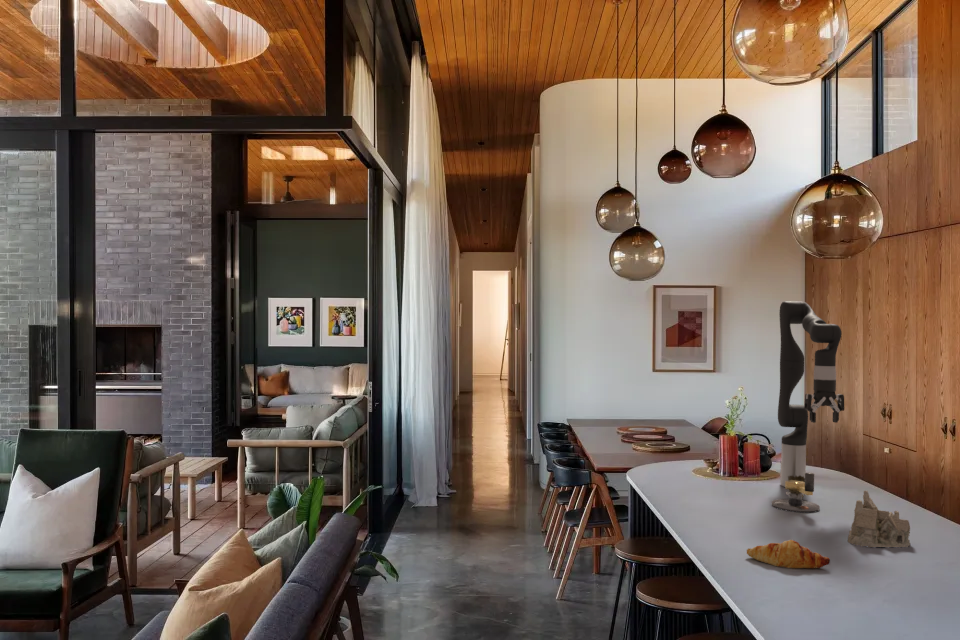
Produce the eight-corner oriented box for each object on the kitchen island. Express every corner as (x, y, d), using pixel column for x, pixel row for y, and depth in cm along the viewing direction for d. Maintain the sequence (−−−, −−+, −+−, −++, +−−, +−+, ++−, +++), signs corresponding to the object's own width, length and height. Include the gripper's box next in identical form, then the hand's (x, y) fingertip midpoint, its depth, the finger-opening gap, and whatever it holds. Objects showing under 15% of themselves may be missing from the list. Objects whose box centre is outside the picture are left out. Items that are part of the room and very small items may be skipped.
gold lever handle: (781, 487, 276) (782, 466, 276) (800, 487, 277) (800, 466, 277) (801, 496, 261) (801, 474, 261) (821, 496, 262) (821, 474, 262)
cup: (813, 499, 286) (813, 478, 286) (798, 500, 283) (798, 479, 283) (798, 495, 293) (798, 474, 293) (783, 496, 290) (783, 475, 290)
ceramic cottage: (840, 541, 229) (845, 492, 229) (861, 533, 240) (866, 486, 240) (895, 556, 218) (900, 505, 218) (915, 548, 229) (920, 499, 229)
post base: (763, 502, 280) (763, 485, 280) (804, 501, 282) (804, 485, 282) (785, 512, 264) (786, 495, 264) (828, 512, 266) (829, 495, 266)
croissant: (745, 573, 209) (743, 551, 206) (748, 547, 217) (747, 526, 214) (830, 584, 200) (829, 561, 197) (830, 557, 208) (829, 534, 205)
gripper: (837, 377, 283) (836, 421, 283) (801, 377, 282) (800, 421, 282) (849, 379, 276) (848, 423, 276) (812, 378, 274) (811, 423, 274)
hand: (824, 422), depth 279 cm, fingers open, 8 cm apart
